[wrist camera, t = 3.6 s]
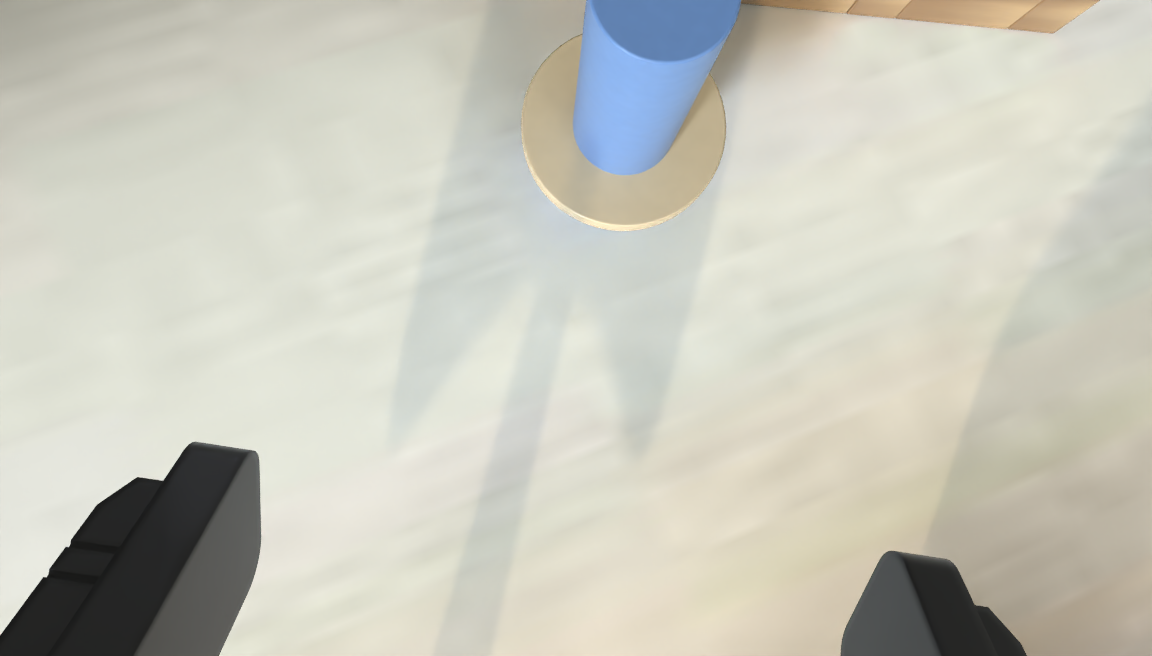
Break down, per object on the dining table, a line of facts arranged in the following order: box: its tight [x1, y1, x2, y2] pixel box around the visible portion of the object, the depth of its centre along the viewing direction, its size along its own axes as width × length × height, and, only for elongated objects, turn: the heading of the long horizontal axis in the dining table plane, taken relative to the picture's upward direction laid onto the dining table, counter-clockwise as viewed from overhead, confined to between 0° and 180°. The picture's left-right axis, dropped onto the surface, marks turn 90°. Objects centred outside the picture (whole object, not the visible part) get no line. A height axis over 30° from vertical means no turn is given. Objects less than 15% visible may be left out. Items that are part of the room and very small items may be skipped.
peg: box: [521, 0, 741, 231], centre depth 24 cm, size 6×6×13 cm
